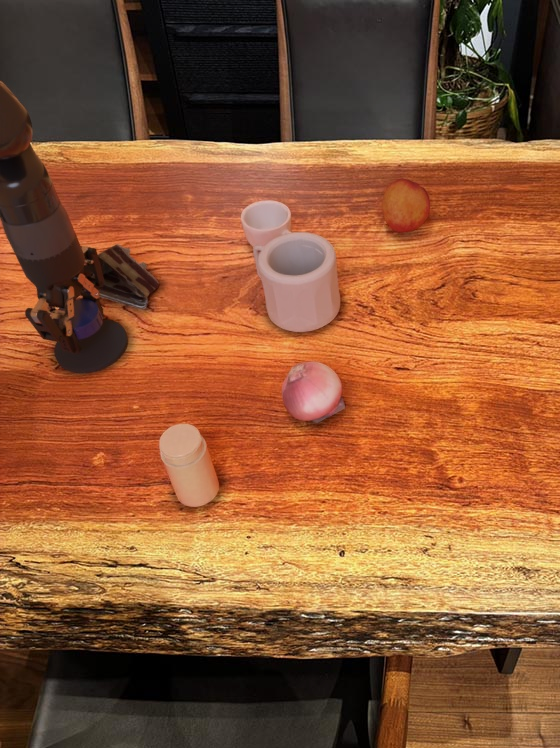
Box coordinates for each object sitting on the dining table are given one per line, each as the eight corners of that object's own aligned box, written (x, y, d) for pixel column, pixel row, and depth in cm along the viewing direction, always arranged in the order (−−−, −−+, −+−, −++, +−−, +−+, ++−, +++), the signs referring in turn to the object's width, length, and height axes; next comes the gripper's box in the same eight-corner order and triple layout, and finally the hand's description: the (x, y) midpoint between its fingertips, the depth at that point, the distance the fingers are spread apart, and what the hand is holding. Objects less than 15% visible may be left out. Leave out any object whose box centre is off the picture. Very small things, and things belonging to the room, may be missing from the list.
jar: (175, 510, 95) (155, 461, 87) (176, 474, 98) (156, 424, 91) (219, 503, 95) (203, 454, 88) (218, 467, 99) (202, 418, 91)
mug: (355, 299, 118) (351, 246, 110) (311, 344, 112) (303, 291, 104) (283, 267, 123) (274, 214, 115) (237, 309, 117) (225, 256, 110)
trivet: (50, 377, 110) (48, 373, 109) (62, 325, 116) (60, 321, 116) (123, 370, 110) (122, 366, 109) (131, 319, 117) (130, 315, 116)
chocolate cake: (179, 284, 122) (129, 218, 120) (151, 303, 116) (97, 234, 114) (145, 311, 128) (96, 248, 125) (116, 330, 122) (65, 265, 120)
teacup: (235, 245, 127) (229, 217, 123) (270, 221, 131) (265, 193, 127) (280, 271, 122) (275, 243, 118) (315, 245, 126) (311, 217, 122)
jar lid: (107, 309, 111) (103, 298, 109) (96, 339, 107) (92, 328, 106) (66, 309, 111) (61, 298, 110) (53, 340, 107) (48, 329, 106)
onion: (301, 379, 108) (295, 342, 102) (355, 393, 106) (351, 356, 100) (275, 423, 103) (267, 386, 97) (330, 439, 101) (326, 403, 95)
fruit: (441, 224, 129) (442, 182, 123) (407, 248, 125) (407, 206, 119) (404, 204, 132) (404, 162, 126) (371, 227, 129) (368, 186, 123)
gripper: (38, 280, 93) (84, 377, 105) (98, 206, 102) (134, 303, 114) (-18, 271, 94) (34, 367, 107) (47, 199, 103) (87, 295, 116)
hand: (85, 334), depth 111 cm, fingers closed on jar lid, 6 cm apart
